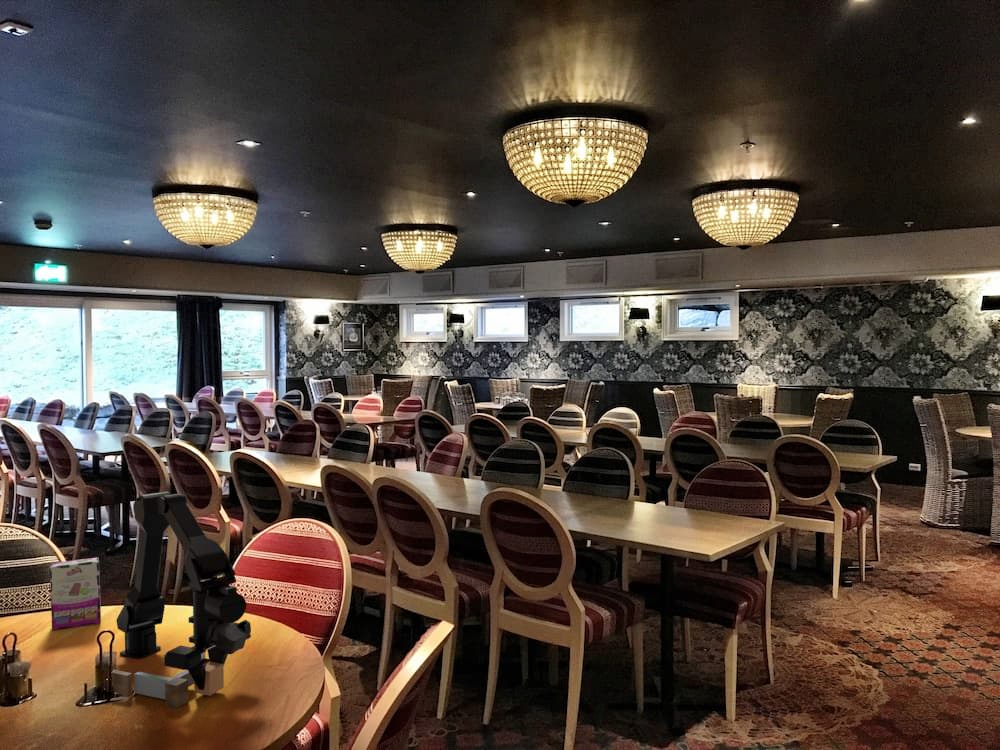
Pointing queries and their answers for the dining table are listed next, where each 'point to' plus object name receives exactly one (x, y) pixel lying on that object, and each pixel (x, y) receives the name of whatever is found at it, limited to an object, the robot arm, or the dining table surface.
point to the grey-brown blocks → (173, 689)
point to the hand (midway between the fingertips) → (209, 685)
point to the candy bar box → (75, 593)
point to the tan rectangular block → (212, 679)
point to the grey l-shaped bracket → (156, 683)
